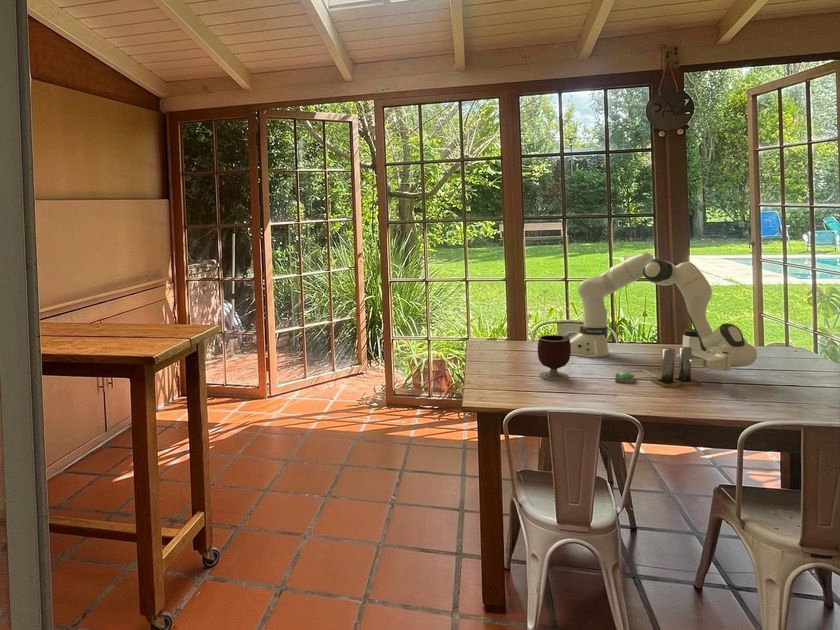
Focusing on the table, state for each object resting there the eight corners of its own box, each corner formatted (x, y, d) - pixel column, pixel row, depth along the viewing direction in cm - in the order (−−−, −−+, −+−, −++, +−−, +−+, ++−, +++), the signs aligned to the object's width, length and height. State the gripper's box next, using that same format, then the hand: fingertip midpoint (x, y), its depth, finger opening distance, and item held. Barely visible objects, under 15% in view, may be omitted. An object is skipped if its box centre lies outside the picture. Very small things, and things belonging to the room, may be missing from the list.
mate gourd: (534, 379, 227) (535, 333, 223) (539, 371, 239) (540, 327, 236) (572, 382, 221) (573, 335, 218) (575, 373, 234) (576, 329, 231)
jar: (686, 351, 269) (688, 327, 267) (704, 353, 263) (705, 329, 261) (679, 354, 263) (681, 330, 261) (697, 357, 257) (698, 332, 255)
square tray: (632, 381, 220) (632, 378, 220) (619, 374, 231) (619, 371, 231) (657, 379, 221) (657, 376, 221) (643, 372, 232) (643, 369, 232)
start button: (619, 383, 216) (619, 374, 216) (619, 380, 220) (620, 371, 219) (629, 384, 215) (630, 375, 214) (630, 381, 219) (630, 372, 218)
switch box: (615, 385, 216) (615, 378, 215) (615, 380, 222) (616, 373, 222) (633, 386, 213) (633, 379, 213) (634, 382, 219) (634, 374, 219)
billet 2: (678, 383, 212) (679, 348, 210) (678, 380, 216) (679, 346, 214) (691, 383, 210) (692, 349, 208) (690, 381, 214) (691, 347, 212)
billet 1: (661, 384, 211) (662, 350, 208) (660, 381, 215) (662, 347, 212) (673, 385, 209) (675, 350, 207) (672, 382, 213) (674, 348, 211)
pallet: (663, 390, 207) (663, 385, 207) (650, 384, 216) (650, 378, 216) (701, 387, 209) (701, 382, 209) (687, 381, 218) (687, 376, 218)
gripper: (699, 344, 222) (668, 346, 221) (734, 355, 202) (700, 357, 201) (698, 359, 224) (668, 360, 222) (733, 371, 203) (699, 374, 202)
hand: (683, 359), depth 211 cm, fingers open, 7 cm apart
